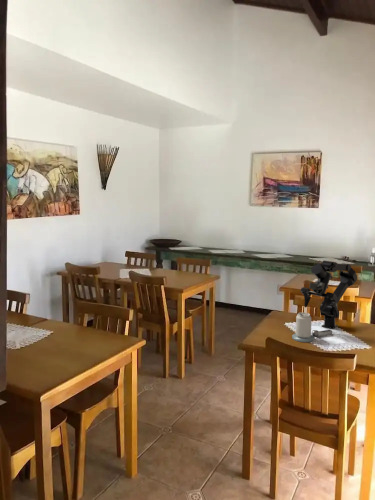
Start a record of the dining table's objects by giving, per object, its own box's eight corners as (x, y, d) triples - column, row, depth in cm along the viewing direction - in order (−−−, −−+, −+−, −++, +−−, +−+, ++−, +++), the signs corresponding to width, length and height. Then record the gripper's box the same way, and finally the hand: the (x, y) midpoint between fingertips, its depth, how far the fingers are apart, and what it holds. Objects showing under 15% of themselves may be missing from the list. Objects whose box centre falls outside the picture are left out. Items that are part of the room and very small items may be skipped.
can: (296, 333, 215) (297, 311, 214) (311, 334, 213) (311, 312, 211) (295, 338, 209) (295, 315, 207) (310, 339, 206) (311, 316, 204)
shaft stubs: (299, 326, 228) (299, 321, 228) (333, 334, 216) (333, 328, 215) (290, 331, 221) (290, 326, 220) (324, 339, 208) (324, 334, 208)
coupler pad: (298, 333, 218) (298, 331, 218) (317, 337, 211) (317, 335, 211) (288, 338, 210) (288, 337, 210) (308, 344, 203) (308, 342, 203)
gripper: (300, 273, 220) (290, 299, 216) (333, 278, 207) (323, 307, 203) (309, 281, 227) (299, 307, 223) (341, 287, 214) (332, 315, 210)
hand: (313, 309), depth 215 cm, fingers open, 9 cm apart
